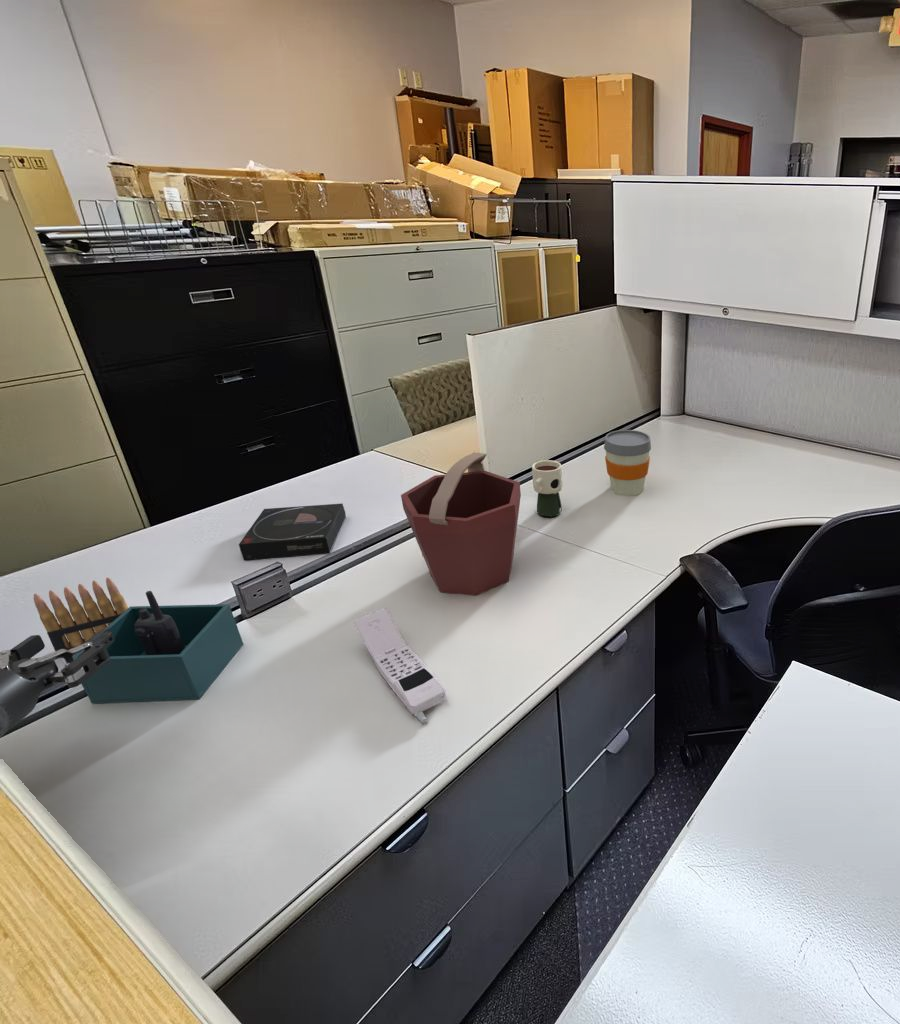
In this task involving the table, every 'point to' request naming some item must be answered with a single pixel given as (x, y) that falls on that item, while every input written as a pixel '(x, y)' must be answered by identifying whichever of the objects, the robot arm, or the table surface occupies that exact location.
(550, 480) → the character mug
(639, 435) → the reusable coffee cup
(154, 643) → the two-way radio
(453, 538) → the bucket
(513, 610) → the table surface
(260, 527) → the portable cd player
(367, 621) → the mobile phone
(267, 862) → the table surface
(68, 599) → the ammunition clip
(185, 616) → the bin
